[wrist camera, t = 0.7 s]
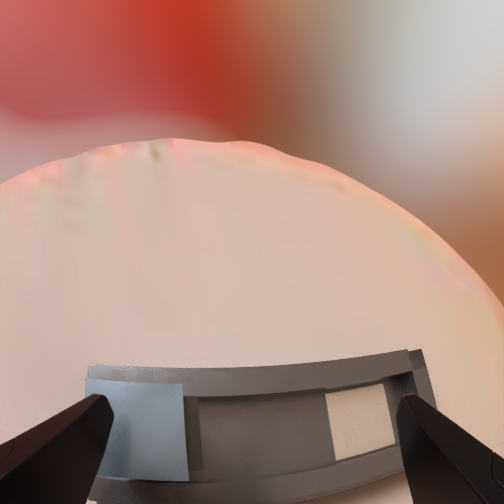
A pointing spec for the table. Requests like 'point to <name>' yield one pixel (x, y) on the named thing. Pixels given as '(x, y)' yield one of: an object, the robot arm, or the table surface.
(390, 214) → the table surface
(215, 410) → the rail
